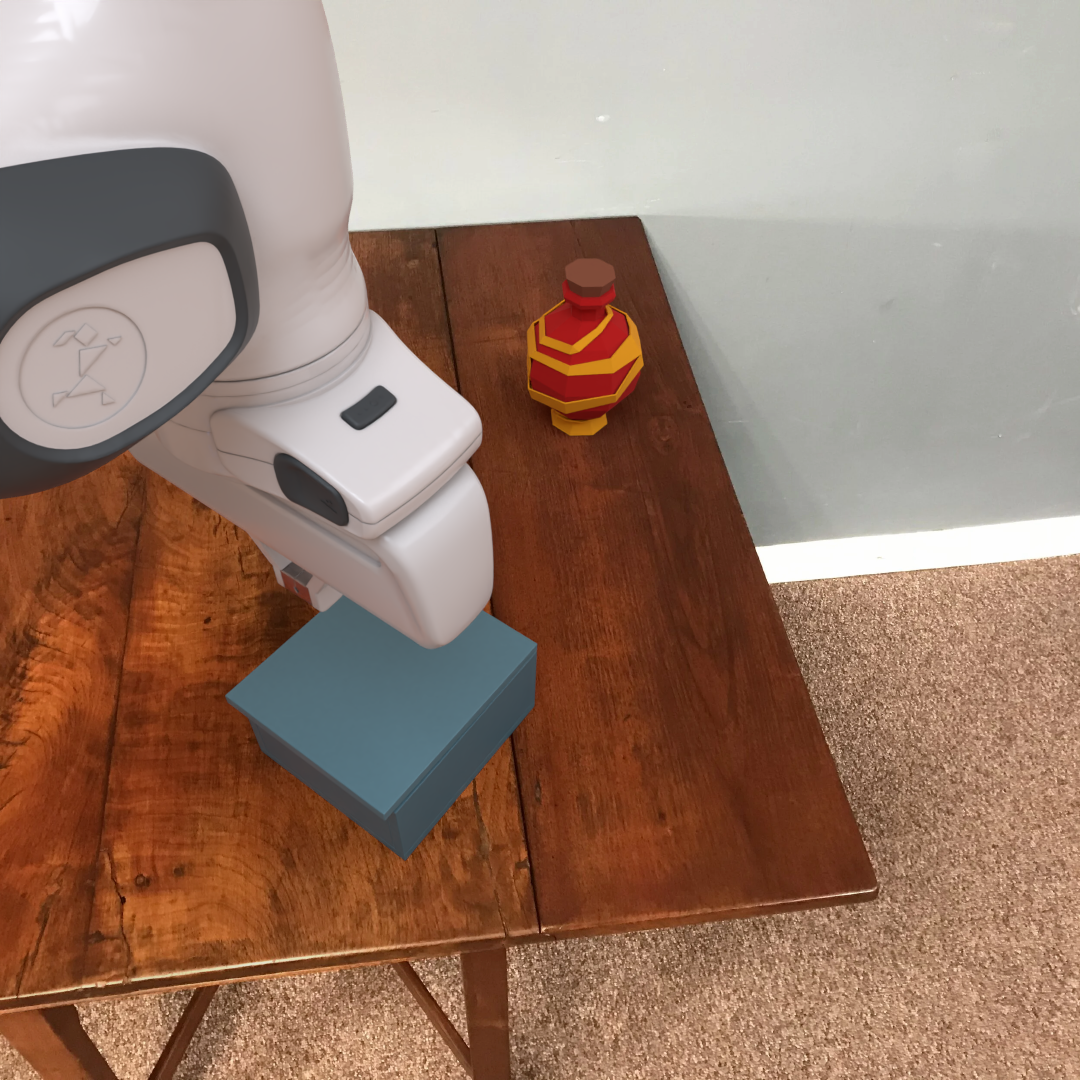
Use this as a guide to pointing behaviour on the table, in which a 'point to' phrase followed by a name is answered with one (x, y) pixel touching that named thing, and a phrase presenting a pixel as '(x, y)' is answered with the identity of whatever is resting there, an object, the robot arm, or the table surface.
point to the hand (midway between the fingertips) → (312, 590)
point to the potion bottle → (583, 351)
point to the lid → (377, 697)
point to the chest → (438, 783)
